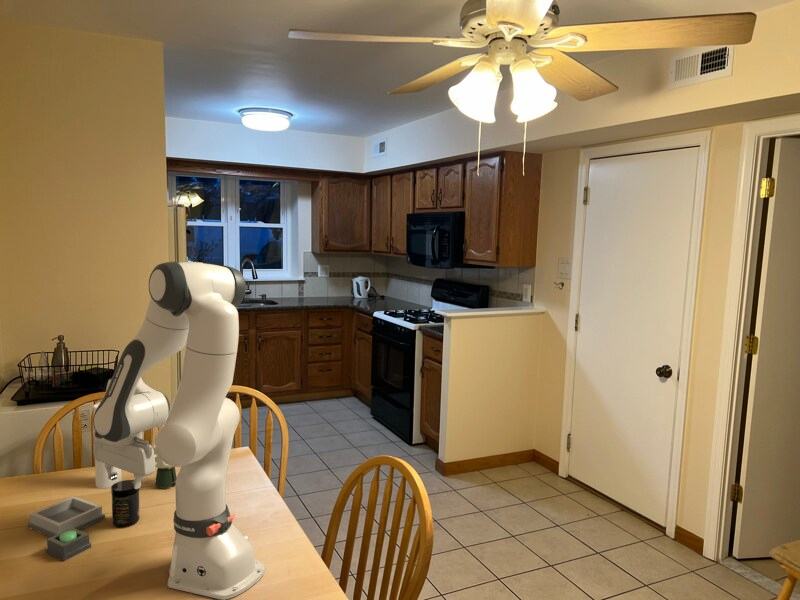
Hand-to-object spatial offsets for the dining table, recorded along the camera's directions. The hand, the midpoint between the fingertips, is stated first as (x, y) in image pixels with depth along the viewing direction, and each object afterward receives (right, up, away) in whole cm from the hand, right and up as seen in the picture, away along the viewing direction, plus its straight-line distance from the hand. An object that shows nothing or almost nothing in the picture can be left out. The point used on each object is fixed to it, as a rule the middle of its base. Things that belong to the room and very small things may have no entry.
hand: (124, 483), depth 153 cm
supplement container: (0, -11, +1) cm, 11 cm away
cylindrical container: (-16, -8, +24) cm, 30 cm away
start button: (-7, -11, -13) cm, 19 cm away
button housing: (-7, -12, -13) cm, 19 cm away
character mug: (+2, -8, +24) cm, 25 cm away
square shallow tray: (-15, -10, 0) cm, 18 cm away
